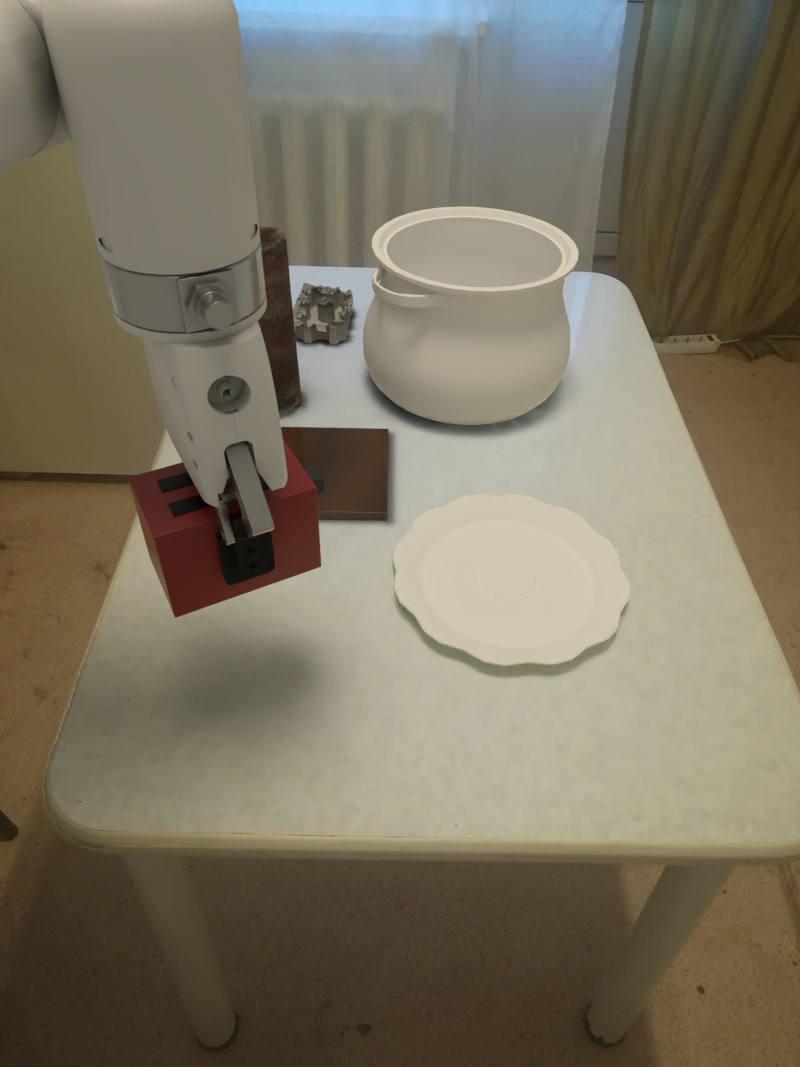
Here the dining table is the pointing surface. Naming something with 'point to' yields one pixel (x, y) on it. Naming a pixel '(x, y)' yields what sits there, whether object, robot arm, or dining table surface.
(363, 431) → the board
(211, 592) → the toaster
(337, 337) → the grey hollow ruin block
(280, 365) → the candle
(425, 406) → the pot
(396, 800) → the dining table surface
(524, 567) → the plate
